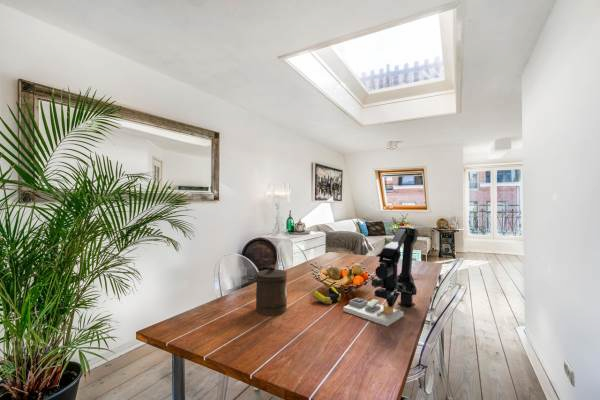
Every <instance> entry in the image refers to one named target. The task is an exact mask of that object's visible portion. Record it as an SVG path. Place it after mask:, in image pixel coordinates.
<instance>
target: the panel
mask: <svg viewBox="0 0 600 400" xmlns="http://www.w3.org/2000/svg"><path fill="white" fill-rule="evenodd" d="M355 299H362V300H363V302H362V303H357V302H354V300H355ZM369 302H370V301H369V300H367V299H363V298H360V297H355V298H353V299H350V300H349V302H348V304H347V305H344V306H343V312H345V313H349V314H350V315H354V316H357V317H360V318H362V319H366V320H368V321H370V322H371V321H372V322H373V323H377V324H380V325H382V326H384V327H385V326H386V327H389V326H390V325H392V324H393V323H395V322H397V321H399V319H401V318H402V317H404V311H401V309H395V308H393V313H392V314H390V315H388V314H385V313H384V306H385V305H381V304H379V303H378V304H377V305H375V306H374V307H373V308H370V307H367V304H368V303H369Z"/></svg>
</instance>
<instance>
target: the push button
mask: <svg viewBox="0 0 600 400" xmlns="http://www.w3.org/2000/svg"><path fill="white" fill-rule="evenodd" d="M362 299H363V298H360V299H355V300H354V302H357V303H362V302H363V300H364V299H363V300H362Z"/></svg>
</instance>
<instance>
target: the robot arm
mask: <svg viewBox="0 0 600 400" xmlns="http://www.w3.org/2000/svg"><path fill="white" fill-rule="evenodd" d="M418 238H419V230H418V229H417V228H416V227H410V226H409V227H408V226H403V225H401V226H400V225H399V226H398V227H397V231H396V232H395V234H394V236H393V238H392V240H391V241H390V242H389V243H386V245H384V246H383V248H382V249H381V252H380V255H379V260H378V263H379V265H378V266H377V267H376V268H375V271H374V272H375V276H376V277H377V278H372V279H371V286H372V287H373V288H374V289H375V288H377V289H375V291H374V297H376V298H380V299H385V300H386V303H387V305H388V306H391V307H393V308H394V306H395V304H396V302H397V300H398V298H399V296H400V302H397V305H399V306H403V307H407V308H412V307H414V306H415V305H416V303H415V302H413V296H415V295H417V287H416V284H415V279H414V277H413V275H412V264H413V254H414V251H413V250H414V245H415V244H416V243H417V241H418ZM401 247H403V248H402V254H401ZM401 255H402V260H401V272H400V273H399V274H398V265H399V262H400V259H401ZM379 287H380V288H379Z"/></svg>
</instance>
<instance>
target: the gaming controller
mask: <svg viewBox="0 0 600 400" xmlns="http://www.w3.org/2000/svg"><path fill="white" fill-rule="evenodd" d="M341 296H342V293H340V292H338V290H337V289H336V288H335V287H333V286H329V287H328V295H327V294H326V295H323V294H321V293H320V292H318V291H317V290H315V291H313V297H314V298H315V299H316V300H317V301H319V302H321V303H323V304H324V305H328V304H329V305H331V304H334V303H337V302H340V300H341V299H342V298H341Z"/></svg>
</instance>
